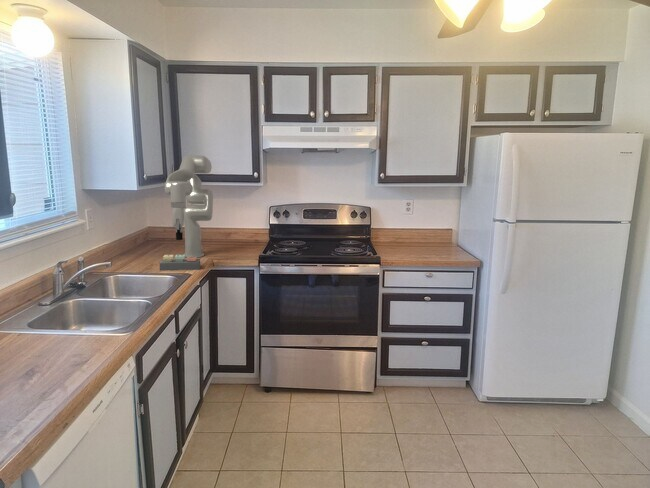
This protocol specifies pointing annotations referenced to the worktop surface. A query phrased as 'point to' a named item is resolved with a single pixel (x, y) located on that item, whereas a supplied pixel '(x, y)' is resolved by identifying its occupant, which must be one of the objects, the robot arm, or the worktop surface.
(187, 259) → the tile three
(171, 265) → the console
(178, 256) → the tile two
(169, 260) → the tile one
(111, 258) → the worktop surface
